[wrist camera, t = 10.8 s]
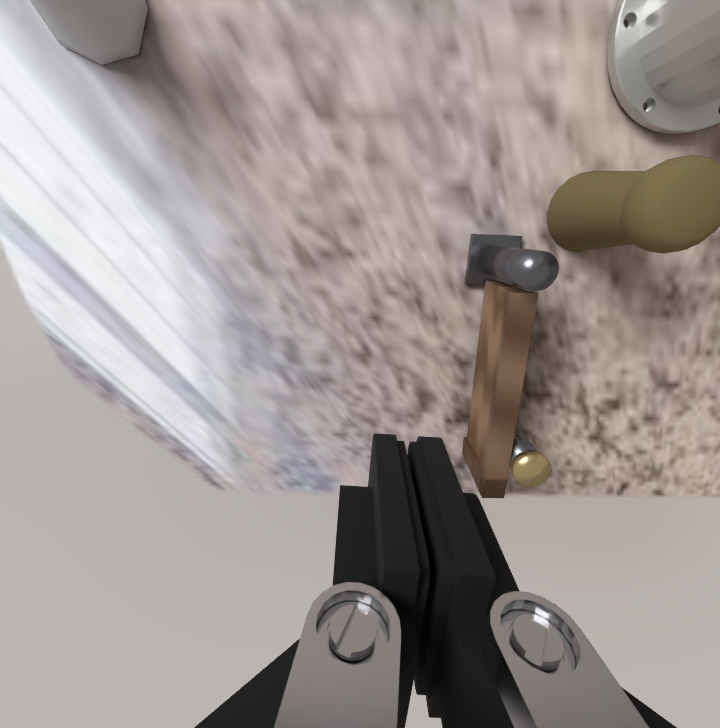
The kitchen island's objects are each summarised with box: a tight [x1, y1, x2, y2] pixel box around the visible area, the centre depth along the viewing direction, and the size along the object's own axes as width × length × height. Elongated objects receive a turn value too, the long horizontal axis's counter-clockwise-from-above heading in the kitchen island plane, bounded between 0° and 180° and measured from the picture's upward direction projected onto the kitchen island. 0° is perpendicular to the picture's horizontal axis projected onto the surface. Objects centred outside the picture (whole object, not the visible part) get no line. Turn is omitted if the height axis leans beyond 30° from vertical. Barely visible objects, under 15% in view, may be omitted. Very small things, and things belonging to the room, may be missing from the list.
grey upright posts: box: [465, 234, 559, 487], centre depth 30 cm, size 7×19×9 cm, turn 178°
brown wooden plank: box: [462, 281, 538, 498], centre depth 31 cm, size 17×2×6 cm, turn 179°
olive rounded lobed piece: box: [547, 155, 720, 253], centre depth 25 cm, size 6×6×11 cm
